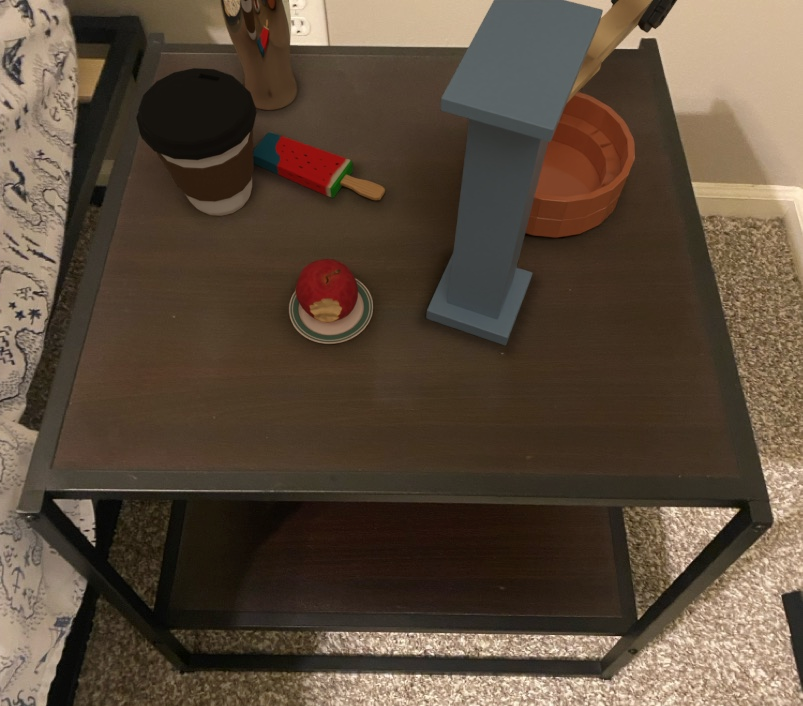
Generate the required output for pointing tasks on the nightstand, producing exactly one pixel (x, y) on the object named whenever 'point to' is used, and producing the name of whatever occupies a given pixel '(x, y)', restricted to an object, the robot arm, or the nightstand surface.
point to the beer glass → (263, 48)
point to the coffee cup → (202, 136)
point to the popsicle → (311, 167)
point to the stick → (609, 37)
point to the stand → (506, 152)
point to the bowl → (581, 169)
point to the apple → (329, 303)
